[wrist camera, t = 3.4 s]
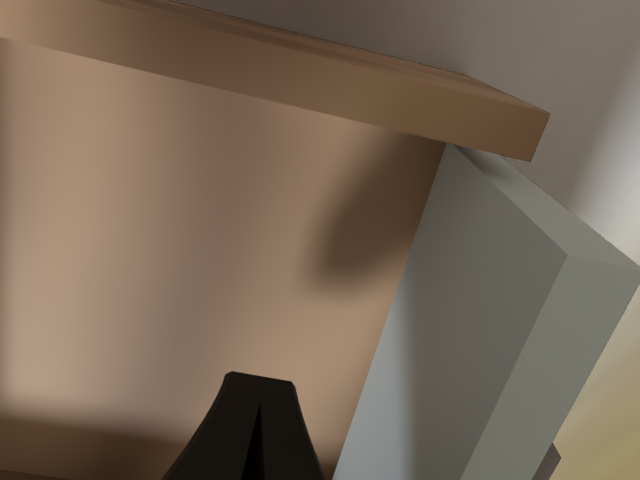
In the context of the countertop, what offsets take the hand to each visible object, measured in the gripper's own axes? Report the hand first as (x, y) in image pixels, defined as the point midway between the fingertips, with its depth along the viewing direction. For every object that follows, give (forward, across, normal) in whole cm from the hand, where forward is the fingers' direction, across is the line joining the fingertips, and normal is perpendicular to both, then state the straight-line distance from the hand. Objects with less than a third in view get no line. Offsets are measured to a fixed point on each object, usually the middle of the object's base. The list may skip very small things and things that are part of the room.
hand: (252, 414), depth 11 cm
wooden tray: (+4, +3, 0) cm, 5 cm away
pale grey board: (+3, -4, 0) cm, 5 cm away
